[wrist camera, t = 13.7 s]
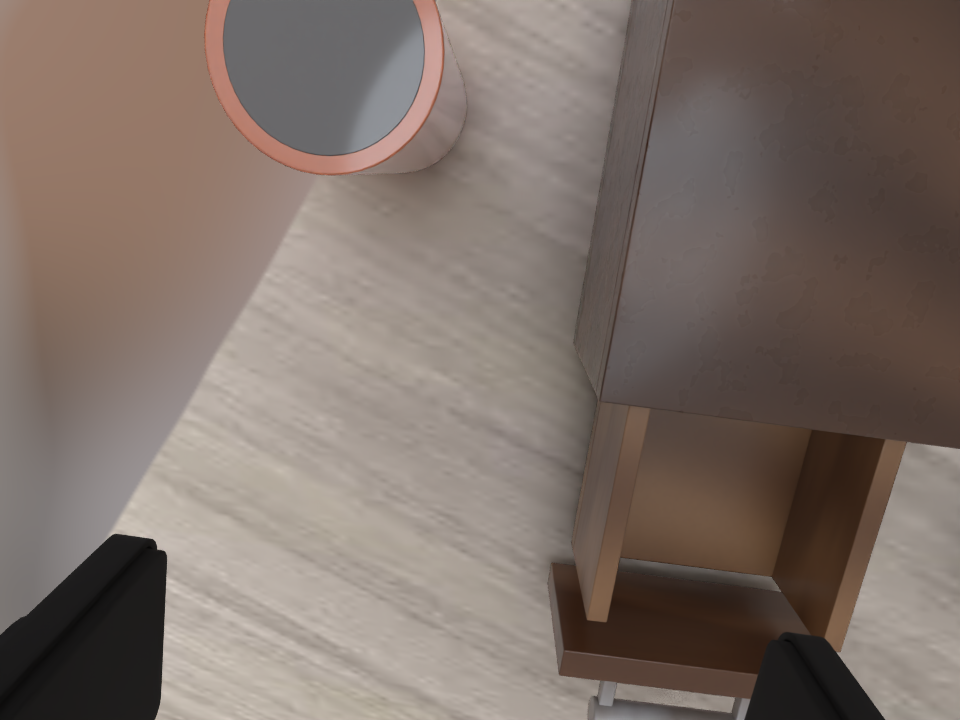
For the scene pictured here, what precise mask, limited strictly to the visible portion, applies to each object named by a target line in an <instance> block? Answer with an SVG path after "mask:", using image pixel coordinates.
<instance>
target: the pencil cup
mask: <svg viewBox="0 0 960 720" xmlns="http://www.w3.org/2000/svg"><path fill="white" fill-rule="evenodd" d="M204 38H205V55H206V61H207V67H208V71H209V75H210V78H211V82H212V85H213V88H214V90H215V92H216V95H217V97H218V100H219V102H220V104H221V105H222V107H223V109H224V111H225V113H226V114H227V116H228V117H229V119H230V120H231V121H232V123H233V124H234V126H235V127H236V128H237V129H238V131H239V132H240V133H241V134H242V135H243V136H244V137H245V138H246V139H247V140H248V141H249V142H250V143H251V144H253V145H254V146H255V147H256V148H257V149H258V150H259V151H261V152H262V153H264V154H265V155H267V156H268V157H270V158H271V159H273V160H275V161H277V162H279V163H281V164H283V165H285V166H287V167H290V168H293V169H296V170H299V171H301V172H306V173H311V174H316V175H330V176H334V175H365V174H396V173H411V172H416V171H420V170H422V169H425V168H427V167H429V166H431V165H433V164H435V163H436V162H438V161H439V160H440V159H442V158H443V157H444V156H445V155H446V154H447V153H448V152H449V151H450V150H451V148H452V147H453V146H454V144H455V143H456V141H457V139H458V138H459V135H460V133H461V131H462V128H463V125H464V122H465V117H466V110H467V96H466V89H465V84H464V81H463V78H462V75H461V72H460V69H459V66H458V63H457V61H456V58H455V55H454V52H453V49H452V47H451V44H450V41H449V38H448V35H447V33H446V30H445V27H444V24H443V21H442V19H441V16H440V13H439V10H438V7H437V5H436V2H435V0H209V5H208V9H207V14H206V21H205V33H204Z"/></svg>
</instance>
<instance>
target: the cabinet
mask: <svg viewBox="0 0 960 720" xmlns="http://www.w3.org/2000/svg"><path fill="white" fill-rule="evenodd" d="M573 343H574V346H575V349H576V351H577V353H578V355H579V358H580V360H581V362H582V364H583V367H584V369H585V371H586V373H587V376H588V378H589V380H590V382H591V384H592V387H593V389H594V391H595V393H596V395H597V397H598V400H599V401H600V402H605V403H613V404H620V405H628V406H636V407H643V408H651V409H658V410H666V411H674V412H681V413H689V414H697V415H704V416H712V417H720V418H727V419H735V420H743V421H750V422H758V423H766V424H773V425H781V426H788V427H796V428H804V429H811V430H819V431H827V432H834V433H842V434H850V435H857V436H865V437H873V438H880V439H888V440H895V441H903V442H911V443H918V444H926V445H934V446H941V447H949V448H957V449H960V0H632V3H631V9H630V15H629V21H628V27H627V33H626V38H625V44H624V50H623V56H622V62H621V68H620V74H619V79H618V85H617V91H616V97H615V103H614V109H613V114H612V120H611V126H610V132H609V138H608V144H607V150H606V155H605V161H604V167H603V173H602V179H601V185H600V190H599V196H598V202H597V208H596V214H595V220H594V225H593V231H592V237H591V243H590V249H589V255H588V261H587V266H586V272H585V278H584V284H583V290H582V296H581V301H580V307H579V313H578V319H577V325H576V331H575V337H574V342H573Z"/></svg>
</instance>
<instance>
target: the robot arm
mask: <svg viewBox="0 0 960 720" xmlns="http://www.w3.org/2000/svg"><path fill="white" fill-rule="evenodd" d="M166 572H167V555H166V552H165V551H162V550H157V545H156V542H155V541H154V540H153V539H149V538H142V537H135V536H128V535H121V534H114V535H112V536H111V537H109V538H108V539H107V540H106V541H105V542H104V543H103V544H102V545H101V546H100V547H99V548H98V549H96V550H95V551H94V552H93V553H92V554H91V555H90V556H89V557H88V558H87V559H86V560H85V561H84V562H83V563H82V564H81V565H80V566H78V567H77V569H75V570H74V571H73V572H72V573H71V574H70V575H69V576H68V577H67V578H66V579H65V580H64V581H63V582H62V583H61V584H59V585H58V586H57V587H56V588H55V589H54V590H53V591H52V592H51V593H50V594H49V595H48V596H47V597H46V598H45V599H44V600H43V601H42V602H41V603H40V604H38V605H37V606H36V607H35V608H34V609H33V610H32V611H31V612H30V613H29V614H28V615H27V616H25V617H22V618H20V619H19V620H17V621H16V622H14V623H13V624H12V625H11V626H9V628H7V629H6V630H5V631H4V632H3V633H2V634H1V635H0V720H155V718H156V715H157V712H158V709H159V705H160V700H161V684H162V661H163V639H164V617H165V594H166ZM744 720H885V719H884V717H883V716H882V715H881V713H880V712H879V711H878V709H877V708H876V706H875V705H874V704H873V702H872V701H871V700H870V698H869V697H868V695H867V694H866V693H865V691H864V690H863V689H862V687H861V686H860V685H859V683H858V682H857V680H856V679H855V678H854V676H853V675H852V674H851V672H850V671H849V669H848V668H847V667H846V665H845V664H844V663H843V661H842V660H841V658H840V657H839V656H838V654H837V653H836V652H835V650H834V649H833V647H832V646H831V645H830V643H829V642H828V641H827V640H826V639H825V638H823V637H819V636H812V635H806V634H799V633H792V632H784V633H782V634H781V635H780V637H779V638H778V640H771V641H770V642H769V643H768V645H767V647H766V650H765V654H764V657H763V660H762V663H761V667H760V670H759V673H758V676H757V680H756V683H755V686H754V690H753V693H752V696H751V699H750V703H749V706H748V709H747V712H746V716H745V719H744Z"/></svg>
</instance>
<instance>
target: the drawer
mask: <svg viewBox="0 0 960 720" xmlns="http://www.w3.org/2000/svg"><path fill="white" fill-rule="evenodd" d="M906 443H907V442H903V441H895V440H888V439H880V438H873V437H865V436H857V435H850V434H842V433H834V432H827V431H819V430H811V429H804V428H796V427H788V426H781V425H773V424H766V423H758V422H750V421H743V420H735V419H727V418H720V417H712V416H704V415H697V414H689V413H681V412H674V411H666V410H658V409H651V408H643V407H636V406H628V405H620V404H613V403H605V402H600V401H599V400H598V401H597V406H596V411H595V417H594V422H593V428H592V433H591V438H590V444H589V449H588V455H587V460H586V466H585V471H584V476H583V482H582V487H581V493H580V498H579V503H578V509H577V514H576V520H575V525H574V530H573V536H572V541H571V543H572V548H573V554H574V559H575V564H576V566H574V565H567V564H559V563H551V567H550V573H549V578H548V591H549V599H550V607H551V615H552V623H553V631H554V639H555V647H556V655H557V663H558V671H559V675H560V676H568V677H576V678H584V679H592V680H600V685H599V690H598V695H597V696H591V698H590V700H589V704H588V720H744V719H745V716H746V712H747V709H748V706H749V703H750V699H751V696H752V693H753V690H754V686H755V683H756V680H757V676H758V673H759V670H760V667H761V663H762V660H763V657H764V654H765V650H766V647H767V645H768V643H769V642H770V641H771V640H778V638H779V637H780V635H781V634H782V633H784V632H792V633H799V634H806V635H812V636H819V637H823V638H825V639H826V640H827V641H828V642H829V643H830V645H831V646H832V647H833V649H834V650H835V652H840V651H841V649H842V645H843V642H844V639H845V636H846V633H847V629H848V626H849V623H850V620H851V617H852V614H853V610H854V607H855V604H856V601H857V598H858V595H859V591H860V588H861V585H862V582H863V579H864V576H865V572H866V569H867V566H868V563H869V560H870V557H871V553H872V550H873V547H874V544H875V541H876V538H877V534H878V531H879V528H880V525H881V522H882V519H883V515H884V512H885V509H886V506H887V503H888V500H889V496H890V493H891V490H892V487H893V484H894V481H895V477H896V474H897V471H898V468H899V465H900V462H901V458H902V455H903V452H904V449H905V446H906ZM620 557H621V558H629V559H637V560H645V561H652V562H660V563H668V564H676V565H684V566H692V567H699V568H707V569H715V570H723V571H731V572H738V573H746V574H754V575H762V576H770V577H772V578H773V580H774V581H775V583H776V584H777V586H778V587H779V589H780V590H781V592H778V591H770V590H763V589H755V588H747V587H739V586H731V585H723V584H716V583H708V582H700V581H692V580H684V579H676V578H668V577H661V576H653V575H645V574H637V573H629V572H621V571H617V570H618V565H619V560H620ZM617 683H624V684H632V685H640V686H648V687H656V688H664V689H672V690H680V691H688V692H696V693H704V694H712V695H720V696H728V697H735V701H734V705H733V708H732V713H727V712H719V711H711V710H703V709H695V708H687V707H679V706H671V705H663V704H655V703H647V702H639V701H631V700H623V699H615V698H614V695H615V691H616V686H617Z"/></svg>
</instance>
